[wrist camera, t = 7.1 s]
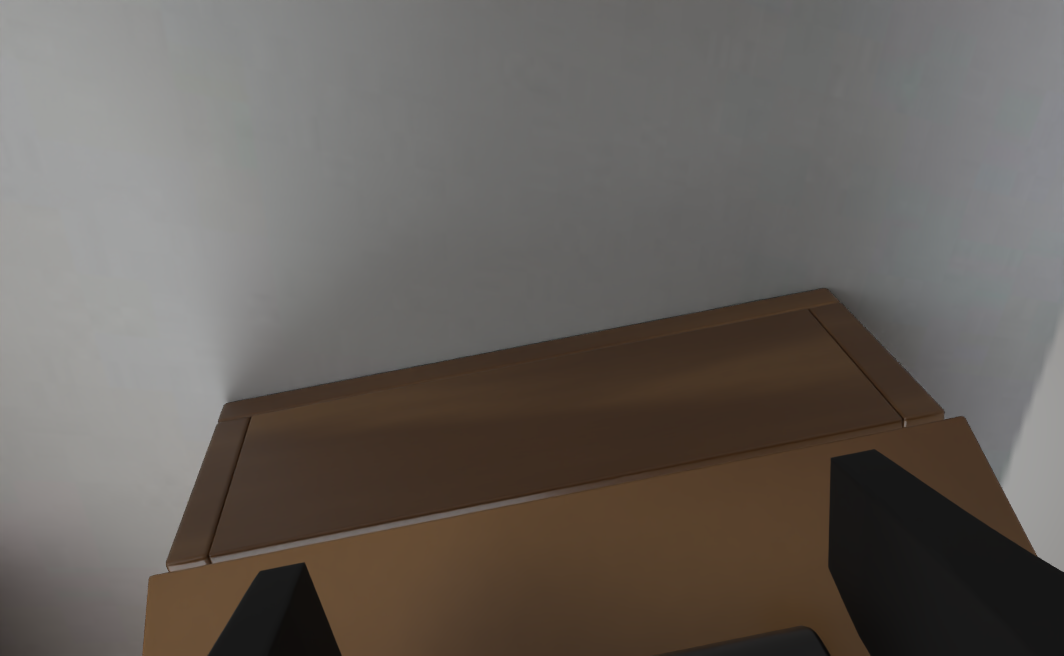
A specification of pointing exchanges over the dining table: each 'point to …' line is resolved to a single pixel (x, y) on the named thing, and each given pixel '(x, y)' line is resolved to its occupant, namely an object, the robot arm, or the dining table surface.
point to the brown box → (601, 565)
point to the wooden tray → (540, 424)
